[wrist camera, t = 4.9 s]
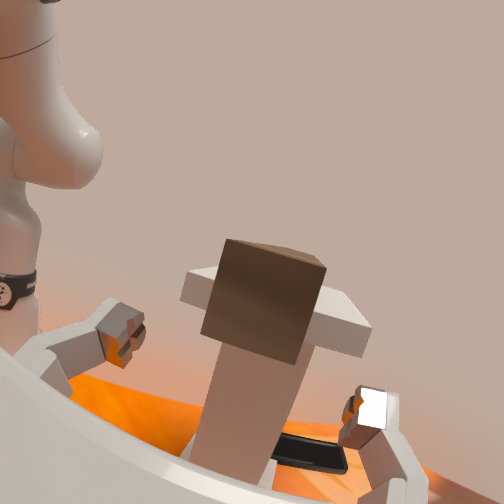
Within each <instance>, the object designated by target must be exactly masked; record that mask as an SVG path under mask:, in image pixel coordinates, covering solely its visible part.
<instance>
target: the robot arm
mask: <svg viewBox="0 0 504 504" xmlns="http://www.w3.org/2000/svg"><path fill="white" fill-rule="evenodd" d="M58 1H60V0H0V504H336V503H330V502H325V501H319V500H314V499H309V498H304V497H300V496H295V495H291V494H287V493H283V492H279V491H275V490H271V489H267V488H264V487H260V486H257V485H253V484H250V483H247V482H244V481H240V480H237V479H234V478H231V477H228V476H225V475H222V474H220V473H217V472H214V471H211V470H209V469H206V468H203V467H201V466H198V465H196V464H193V463H191V462H188V461H186V460H183V459H181V458H179V457H176V456H174V455H172V454H170V453H167V452H165V451H163V450H161V449H159V448H156V447H154V446H152V445H150V444H148V443H146V442H144V441H142V440H140V439H138V438H136V437H134V436H132V435H130V434H128V433H126V432H125V431H123V430H121V429H119V428H117V427H115V426H114V425H112V424H110V423H108V422H106V421H105V420H103V419H101V418H100V417H98V416H96V415H94V414H93V413H91V412H90V411H88V410H86V409H85V408H83V407H81V406H80V405H78V404H77V403H75V402H74V401H72V400H71V399H69V397H70V396H71V394H72V393H73V389H72V387H71V385H70V383H69V381H68V380H69V379H71V378H73V377H75V376H77V375H79V374H81V373H83V372H85V371H87V370H89V369H91V368H94V367H96V366H97V365H100V364H102V363H104V362H105V360H106V361H108V362H110V363H112V364H114V365H117V366H118V367H121V368H122V369H124V368H125V367H126V365H127V364H128V363H129V361H130V360H131V358H132V352H133V351H135V350H138V349H139V348H140V346H141V345H142V343H143V341H144V339H145V334H146V329H145V326H144V325H143V323H142V322H143V321H144V313H142V312H140V311H138V310H136V309H134V308H132V307H130V306H127V305H125V304H123V303H121V302H119V301H117V300H115V299H113V298H108V299H106V300H105V301H104V302H103V303H102V304H101V305H100V306H99V307H98V308H97V309H96V310H95V311H94V312H93V313H92V314H91V315H90V316H89V318H87V320H86V321H85V322H82V321H80V322H77V323H74V324H70V325H67V326H64V327H61V328H58V329H55V330H51V331H49V332H45V333H42V332H41V330H40V328H39V324H40V305H39V304H38V301H37V300H36V298H35V297H34V294H33V293H34V291H35V284H36V270H35V265H36V258H37V252H38V246H39V241H40V235H41V223H40V220H39V217H38V215H37V214H36V212H35V211H34V210H33V209H32V208H31V207H30V206H29V204H28V202H27V199H26V195H25V185H26V181H27V182H30V183H34V184H38V185H42V186H45V187H49V188H54V189H81V188H83V187H84V186H86V185H87V184H88V183H89V182H90V181H91V180H92V179H93V178H94V177H95V175H96V173H97V172H98V170H99V168H100V166H101V162H102V158H103V144H102V140H101V137H100V135H99V133H98V131H97V130H96V129H95V128H93V127H92V126H91V125H90V124H88V123H87V122H86V121H85V120H84V119H83V118H82V117H81V116H80V114H79V113H78V112H77V111H76V109H75V108H74V106H73V105H72V103H71V101H70V100H69V98H68V96H67V94H66V92H65V90H64V88H63V85H62V82H61V78H60V73H59V62H58ZM342 421H343V423H344V426H343V427H342V428H341V430H340V433H339V439H338V446H342V447H346V448H351V449H355V450H359V451H358V453H359V455H360V458H361V461H362V463H363V466H364V469H365V471H366V474H367V477H368V480H369V482H370V485H371V488H372V491H370V492H369V493H367V494H365V495H363V496H362V497H360V498H358V503H357V504H427V502H428V486H429V480H428V478H427V476H426V474H425V472H424V470H423V469H422V467H421V465H420V463H419V462H418V460H417V458H416V456H415V454H414V452H413V451H412V449H411V447H410V446H409V444H408V442H407V440H406V439H405V437H404V435H403V433H401V432H399V395H398V394H397V393H393V392H388V391H384V390H380V389H376V388H371V387H367V386H362V385H360V386H358V387H357V389H356V390H355V395H354V396H352V397H350V398H349V400H348V401H347V403H346V405H345V408H344V411H343V415H342Z"/></svg>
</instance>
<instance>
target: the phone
mask: <svg viewBox="0 0 504 504" xmlns="http://www.w3.org/2000/svg"><path fill="white" fill-rule="evenodd" d="M270 459H273V460H277V464H282V465H286V466H291V467H296V468H302V469H307V470H313V471H319V472H326V473H333V474H340V475H343V474H345V473H346V472H347V470H348V465H347V461H346V457H345V454H344V450H343V447H342V446H338V444H337V443H331V442H326V441H320V440H315V439H310V438H305V437H300V436H295V435H291V434H287V433H282V432H281V435H280V437H279V439H278V441H277V444H276V446H275V448H274V451H273V453H272V455H271V457H270Z"/></svg>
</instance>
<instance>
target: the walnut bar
mask: <svg viewBox="0 0 504 504" xmlns="http://www.w3.org/2000/svg"><path fill="white" fill-rule="evenodd" d="M326 269H327V268H326V267H325V266H324V265H323V264H322V263H321V262H320V261H319V260H318V259H317V258H315V256H313V255H310V254H306V253H303V252H299V251H296V250H293V249H289V248H285V247H277V246H271V245H265V244H258V243H252V242H245V241H239V240H232V239H226V242H225V245H224V249H223V252H222V256H221V259H220V263H219V266H218V270H217V274H216V277H215V281H214V284H213V288H212V292H211V295H210V299H209V303H208V306H207V310H206V314H205V318H204V322H203V325H202V329H201V333H200V334H202V335H205V336H207V337H210V338H213V339H216V340H218V341H221V342H224V343H227V344H230V345H232V346H235V347H238V348H241V349H244V350H247V351H250V352H253V353H256V354H259V355H262V356H266V357H269V358H272V359H275V360H278V361H281V362H285V363H288V364H291V365H295V364H296V361H297V358H298V355H299V352H300V349H301V347H302V344H303V341H304V338H305V335H306V332H307V329H308V326H309V323H310V320H311V317H312V314H313V311H314V308H315V305H316V302H317V299H318V295H319V292H320V289H321V286H322V282H323V279H324V276H325V273H326Z"/></svg>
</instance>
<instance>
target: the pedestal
mask: <svg viewBox="0 0 504 504" xmlns="http://www.w3.org/2000/svg"><path fill="white" fill-rule="evenodd" d="M217 270H218V266H216V267H210V268H203V269H197V270H191V271H187V274H186V278H185V282H184V286H183V290H182V294H181V298H180V301H182V302H185V303H188V304H190V305H193V306H196V307H199V308H201V309H204V310H207V306H208V303H209V299H210V295H211V292H212V288H213V284H214V281H215V277H216V274H217ZM371 331H372V327H371V326H370V325H369V323H368V322H367V321H366V319H365V318H364V317H363V316H362V314H361V313H360V312H359V311H358V309H357V308H356V307H355V306H354V305H353V303H352V302H351V301H350V300H349V298H348V297H347V296H346V295H345V294H344V292H342V291H339V290H335V289H332V288H329V287H325V286H321V289H320V292H319V295H318V299H317V302H316V305H315V308H314V311H313V314H312V317H311V320H310V323H309V326H308V329H307V332H306V335H305V338H304V341H303V344H302V347H301V349H300V352H299V355H298V358H297V361H296V364H295V365H291V364H288V363H285V362H281V361H278V360H275V359H272V358H269V357H266V356H262V355H259V354H256V353H253V352H250V351H247V350H244V349H241V348H238V347H235V346H232V345H230V344H227V343H224V342H222V345H221V348H220V352H219V355H218V359H217V362H216V366H215V370H214V373H213V376H212V380H211V383H210V387H209V391H208V394H207V397H206V401H205V404H204V408H203V412H202V415H201V419H200V422H199V426H198V429H197V433H195V434H194V436H193V437H192V439H191V440H190V442H189V443H188V445H187V446H186V447H185V449H184V450H183V452H182V453H181V455H180V456H179V458H181V459H183V460H186V461H188V462H191V463H193V464H196V465H198V466H201V467H203V468H206V469H209V470H211V471H214V472H217V473H220V474H222V475H225V476H228V477H231V478H234V479H237V480H240V481H244V482H247V483H250V484H253V485H257V486H260V487H264V488H267V489H272V484H273V480H274V475H275V470H276V465H277V460H273V459H270V457H271V455H272V453H273V451H274V448H275V446H276V444H277V441H278V439H279V437H280V435H281V432H282V430H283V427H284V425H285V423H286V420H287V418H288V415H289V413H290V411H291V408H292V406H293V403H294V401H295V398H296V396H297V393H298V391H299V388H300V385H301V383H302V380H303V378H304V375H305V372H306V369H307V367H308V364H309V361H310V359H311V356H312V353H313V351H314V347H315V345H316V346H319V347H323V348H327V349H330V350H333V351H337V352H341V353H344V354H348V355H352V356H355V357H360V358H362V355H363V353H364V350H365V347H366V345H367V342H368V339H369V336H370V334H371Z"/></svg>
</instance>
